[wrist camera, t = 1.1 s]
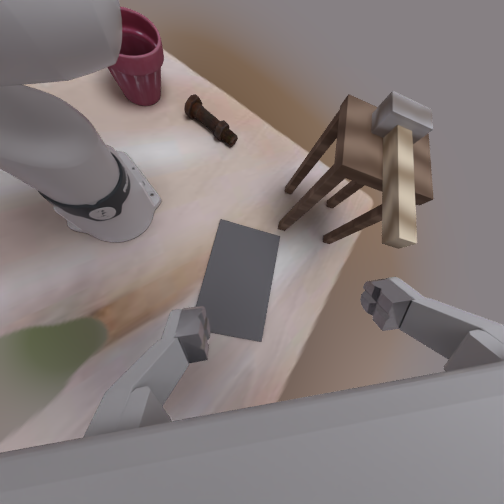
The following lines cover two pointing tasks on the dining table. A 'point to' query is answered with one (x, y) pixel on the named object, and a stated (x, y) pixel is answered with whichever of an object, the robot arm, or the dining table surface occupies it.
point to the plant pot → (139, 59)
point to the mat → (239, 280)
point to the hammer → (399, 164)
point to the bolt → (209, 120)
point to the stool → (354, 167)
